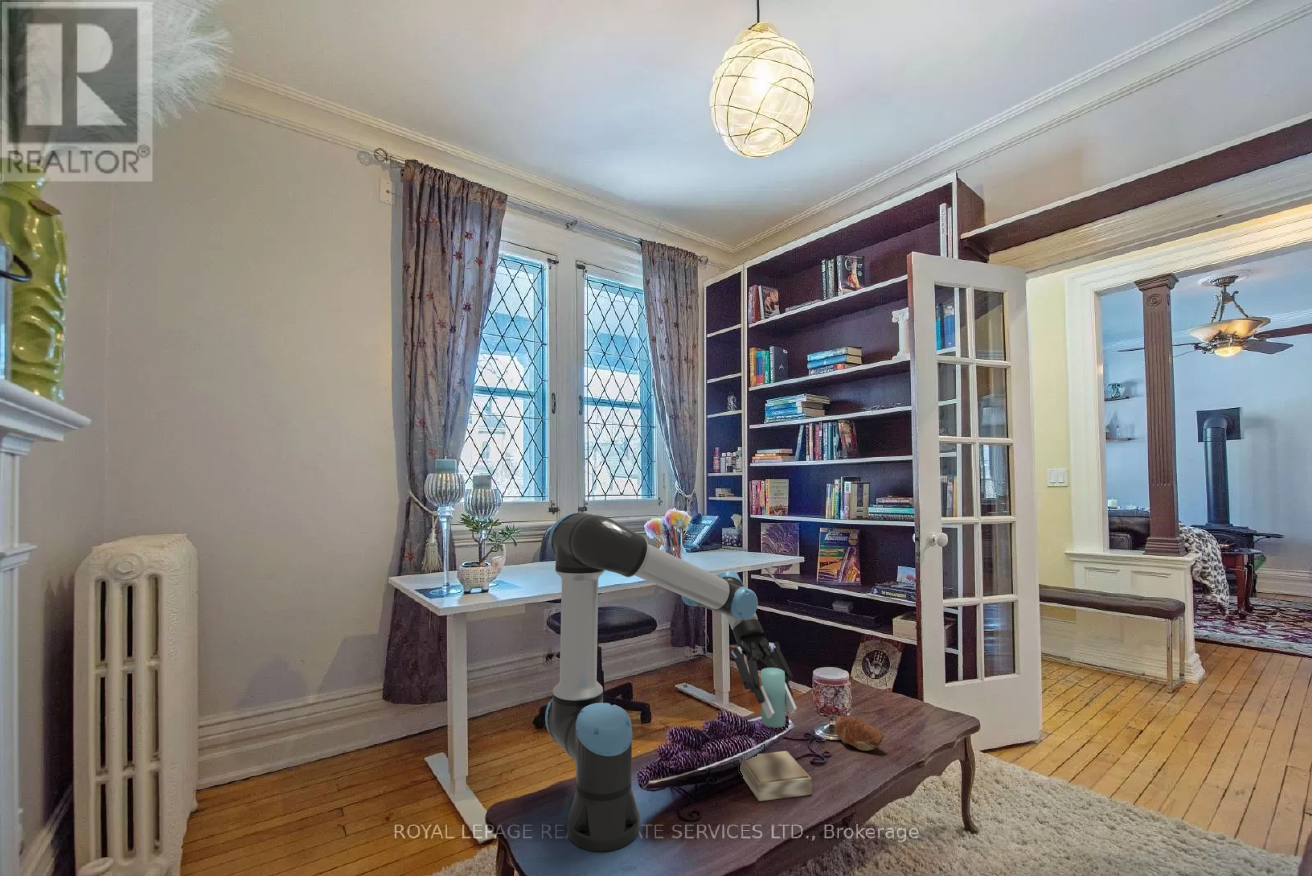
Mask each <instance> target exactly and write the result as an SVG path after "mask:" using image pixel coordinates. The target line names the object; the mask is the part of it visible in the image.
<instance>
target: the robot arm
mask: <svg viewBox="0 0 1312 876" xmlns="http://www.w3.org/2000/svg"><path fill="white" fill-rule="evenodd" d="M548 539H549V540H548V541H549V546H550V549H551V551H552V554H553V555H555V566H554V567H555V573H556V574H557V575H558V576H559V577H560V579H561V593H560V594H561V597H560V599H561V601H560V603H561V604H560V605H561V606H560V607H561V608H560V645H559V646H560V651H559V653H560V654H559V682H558V683H557V684H556V685H555V686H553V688H552V698H551V700H550V701H549V702H548V703H547V706H546V709H545V713H544V714H545V716H544V717H545V719H544V721H545V726H546V729H547V731H548V733H549V735H550V737H551V738H552V739H553V741H554V742H555V743H556V744H557V745H559V747H561V749H562V750H563V751H565V752H566V754H568V756H569V757H570V758H571V760H573V761H574V762H575V765H576V766H575V767H576V769H575V773H576V775H575V777H576V779H575V782H576V784H575V785H576V787H575V793H574V797H573V800H572V803H571V806H570V810H569V812H568V816H567V825H566V826H567V828H566V829H567V831H566V832H567V836H568V838H569V840H570V841H571V842H572V843H573V844H574V845H575V846H577V847H579V848H581V849H583V850H587V851H590V852H591V851H593V852H609V851H613V850H614V851H615V850H619V849H620V848H623V847H625V846H627V845H628V844H630V843H632V842H633V841H634V840H635V839H636V838H637V836H639V832H640V829H641V816H640V811H639V807H638V805H637V801H636V798H635V795H634V794H635V793H634V792H633V789H632V788H633V787H632V786H633V784H632V778H633V777H632V772H633V770H632V769H633V768H632V766H633V764H632V763H633V759H632V756H633V755H632V753H633V751H632V750H633V746H632V745H633V729H632V720H631V717H630V715H629V713H628V712H627V711H626V710H625V709H624V708H622V707H621V706H618V705H616V704H613V705H612V704H611V703H610V702H603V701H604V688H603V686H602V685H601V683H600V682H598V680H597V679H598V678H597V675H598V673H597V672H598V671H597V670H598V668H597V667H598V622H599V620H598V613H599V579H600V576H602V574H604V572H605V571H608V572H611V573H615V574H618V575H621V576H624V577H625V578H632V577H634V576H635V577H638V578H639V579H642V580H644V581H647V582H649V583H651V584H654V585H656V586H659V587H661V588H663V589H666V590H668V591H671V592H673V593H675V594H678V595H680V596H681V600H682V602H683V603H684V604H685V605H687V606H690V607H691V606H692V607H694V608H695V607H703V608H705V609H708V610H711V611H715V612H717V613H721V614H724V615H725V616H726V618H727V621H728V623H729V626H730V629H731V630H732V633H733V635H734V639H735V641H736V643H737V645H738V646H735V647H733V649H732V650H731V652H730V656H731V657H732V659H733V660H734V662H735V664H736V667H737V671H738V673H739V676H740V680H741V683H742V685H743V688H744V689H745V690H750V692H751V693H754V696H755V699H756V701H757V703H758V705H759V704H761V707H762V706H763V709H764V711H765V714H766V716H767V718H770V717H771V716H772V715H773V714H774V710H773V708H772V706H771V703H770V701H769V698H768V696H767V693H766V691H765V688H764V686H761V684H760V677H759V670H758V669H759V668H758V664H757V663H758V661H757V660H760V661H761V662H762V663H763V664H765V666H766V668H778V669H781V670H783V671H784V672H785V708H786V709H787V711H788V714H789V715H793V714H794V712H795V711H797V709H798V708H797V705H796V704H795V701H794V698H793V696H794V693H793V690H792V688H791V686H790V683H789V682H791V680H792V679H793V677H794V675H793V673H792V671H791V669H790V667H789V665H788V663H787V661H786V659H785V657H784V655H783V653H782V651H781V646H780V643H779V641H775V642H769V640H768V639H767V638H766V637H765V632H764V629H763V627H762V625H761V623H760V620H758V619H759V618H758V615H757V613H756V611H757V610H758V606H759V600H758V597H757V595H756V593H755V591H753V590H752V589H750V588H747V587H745V586H744V583H743V581H742V580H741V578H740V576H739V573H737V571H734V570H727V571H721V572H720V573H718V574H717V575H715V574H713V573H711V572H709V571H707V570H705V569H703V568H700V567H699V566H697V565H694V564H693V563H691V562H688V561H686V560H684V559H681V558H679V557H677V556H675V555H673V554H671V553H668V552H666V551H664V550H662V549H659V548H657V547H656V546H653V545H651V544H649V542H648V540H647V538H646V537H645V536H643V535H641V534H639V533H637V532H634V531H633V530H631V529H629V528H628V527H625V526H624V525H622V524H621V523H619V522H617V521H615V520H613V519H612V518H610V517H606V516H604V515H599V514H598V515H597V514H592V513H587V512H580V511H579V512H571V513H567V514H564V515H563V516H560V517H559V518H558V519H557V520H556V521H555V522H554V524H553V525H552V527H551V530H550V531H549V538H548ZM769 650H770V651H769ZM744 656H745V657H746V661H745V659H744ZM746 663H747V664H746ZM747 665H748V667H747Z"/></svg>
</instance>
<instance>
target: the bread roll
mask: <svg viewBox="0 0 1312 876" xmlns="http://www.w3.org/2000/svg"><path fill="white" fill-rule="evenodd" d="M834 729H835V734H836V735H837V737H838V738H839V739H840V740H841V741H842V743H843V744H846V745H850V746H852V747H854V748H856V749H858V750H859V751H864V752H867V751H873V750H875V749H876V748H878V747H879V746H881V743H882V742H883V738H885V735H884V734H883V733H882V731H881V730H879V729H877V728H876V727H874V726H873V725H870V724H868V723H867V722H865V721H864V720H862V719H861V718H859V717H857V716H850V717H849V716H845V715H844V716H843V715H839V716H838V717H837V718H836V719H835V723H834Z"/></svg>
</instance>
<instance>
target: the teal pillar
mask: <svg viewBox="0 0 1312 876" xmlns="http://www.w3.org/2000/svg"><path fill="white" fill-rule="evenodd" d="M760 677H761V681H760V682H761V684H760V686H764V688H765V691H766V693H767V696H768V698H769V701H770V703H771V706H772V708H773V710H774V714H773V715H772V716H771V717H770V718H767V716H766V714H765V711H764V709H763V706H762V705H761V723H762V724H763V725H764V726H766V727H769V728H775V729H776V728H777V729H778V728H782V727H784V726H785V725H786V704H785V672H784V671H783V670H781V669H778V668H768V667H764V668H762V669H761V670H760Z"/></svg>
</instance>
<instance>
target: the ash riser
mask: <svg viewBox="0 0 1312 876" xmlns="http://www.w3.org/2000/svg"><path fill="white" fill-rule="evenodd" d="M756 754H757V756H755V757H752V758H750V759H748V760H745V761H742V763H741V765H740V771H741V773H742V775H743V777H742V778H743V780H744V782H745V783H746V784H747V786H748V787H749V789H750V790H751V792H752V793H753V795H754V797H755V798H756V799H757V801H758V802H763V801H772V800H777V799H778V800H779V799H786V798H794V797H802V796H803V797H804V796H809V795H810V796H811V795H813V791H812V790H813V787H812V786H813V784H812V783H813V781H812V780H813V778H812V777H811V776H810V775H809V773H808V772H807V771H805V769H804V768H803V767H802V766H801V765H800V764H799V762H797V760H796V759H795V758H794V757H793V756H792V755H791V754H790V753H789V751H787V750H783V751H782V750H781V751H774V752H773V751H772V752H766V753H765V752H764V753H756ZM742 775H741V776H742Z"/></svg>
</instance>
